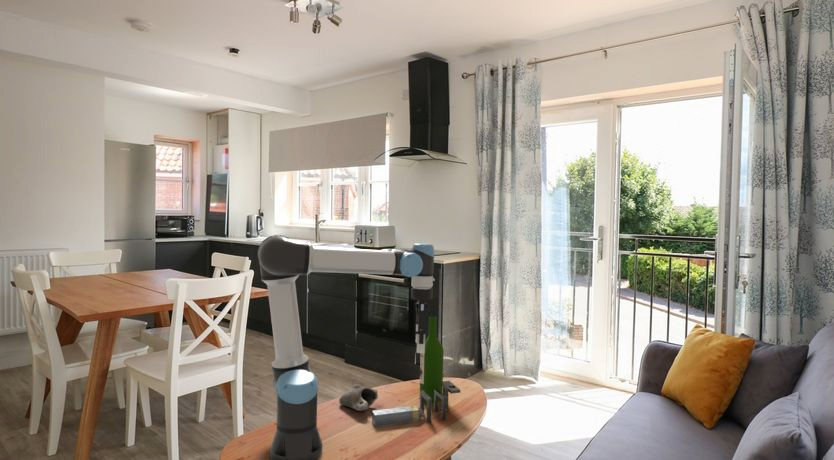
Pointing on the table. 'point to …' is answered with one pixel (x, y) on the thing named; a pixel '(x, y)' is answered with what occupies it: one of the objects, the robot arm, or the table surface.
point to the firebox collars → (447, 387)
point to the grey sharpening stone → (396, 415)
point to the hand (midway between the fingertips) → (419, 347)
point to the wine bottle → (431, 363)
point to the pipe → (359, 397)
